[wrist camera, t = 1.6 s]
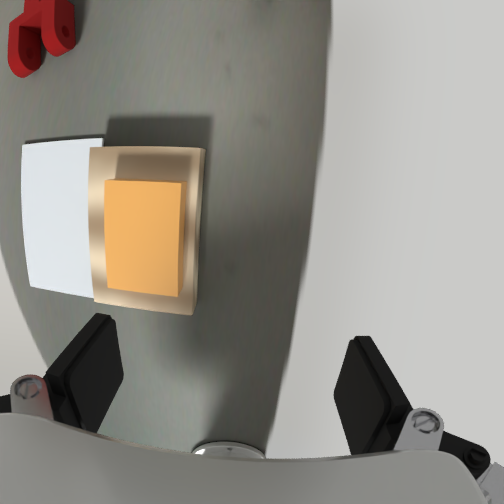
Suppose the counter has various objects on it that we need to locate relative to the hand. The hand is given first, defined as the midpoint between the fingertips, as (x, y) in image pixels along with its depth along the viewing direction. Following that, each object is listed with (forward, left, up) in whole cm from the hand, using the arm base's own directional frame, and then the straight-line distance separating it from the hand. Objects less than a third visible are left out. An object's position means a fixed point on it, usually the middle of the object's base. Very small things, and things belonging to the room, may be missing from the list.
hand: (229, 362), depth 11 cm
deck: (0, +10, -20) cm, 23 cm away
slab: (0, +9, -17) cm, 19 cm away
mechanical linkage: (+26, +27, -21) cm, 43 cm away
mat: (0, +21, -20) cm, 29 cm away
